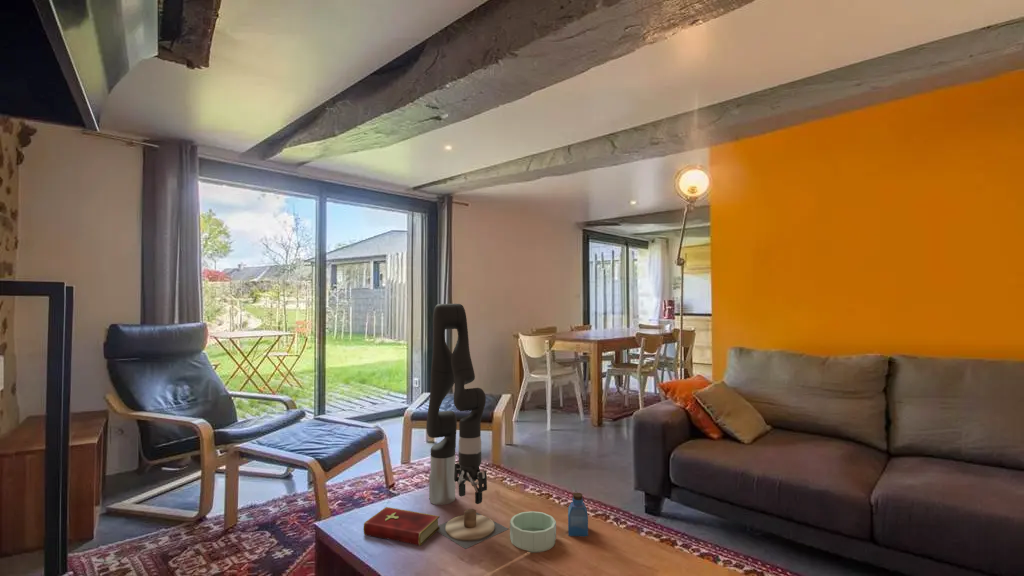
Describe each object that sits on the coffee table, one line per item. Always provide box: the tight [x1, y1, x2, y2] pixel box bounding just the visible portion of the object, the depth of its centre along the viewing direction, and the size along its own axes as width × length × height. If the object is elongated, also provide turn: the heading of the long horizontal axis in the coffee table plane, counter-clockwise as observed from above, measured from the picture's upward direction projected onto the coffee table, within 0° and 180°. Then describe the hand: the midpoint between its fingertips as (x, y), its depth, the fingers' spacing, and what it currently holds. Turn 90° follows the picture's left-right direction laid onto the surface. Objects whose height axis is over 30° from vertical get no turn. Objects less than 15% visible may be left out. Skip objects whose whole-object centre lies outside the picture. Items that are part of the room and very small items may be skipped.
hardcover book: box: [363, 506, 440, 547], centre depth 155 cm, size 12×21×4 cm, turn 69°
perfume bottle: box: [567, 492, 589, 537], centre depth 156 cm, size 6×6×12 cm
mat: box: [436, 511, 509, 550], centre depth 157 cm, size 18×18×1 cm
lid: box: [446, 508, 495, 541], centre depth 157 cm, size 16×16×6 cm
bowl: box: [509, 510, 557, 554], centre depth 150 cm, size 14×14×6 cm
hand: (470, 499), depth 157 cm, fingers open, 8 cm apart
